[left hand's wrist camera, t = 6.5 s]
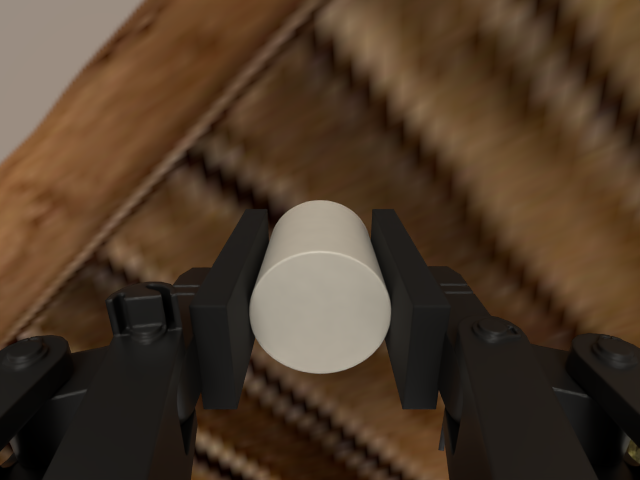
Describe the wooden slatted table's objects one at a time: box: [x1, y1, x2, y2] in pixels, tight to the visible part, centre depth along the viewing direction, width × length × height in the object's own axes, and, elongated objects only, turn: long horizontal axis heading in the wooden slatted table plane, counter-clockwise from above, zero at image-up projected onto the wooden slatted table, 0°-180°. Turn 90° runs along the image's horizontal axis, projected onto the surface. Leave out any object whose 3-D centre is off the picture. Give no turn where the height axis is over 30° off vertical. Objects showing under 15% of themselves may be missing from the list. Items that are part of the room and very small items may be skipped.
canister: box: [249, 200, 391, 374], centre depth 12 cm, size 4×4×5 cm
